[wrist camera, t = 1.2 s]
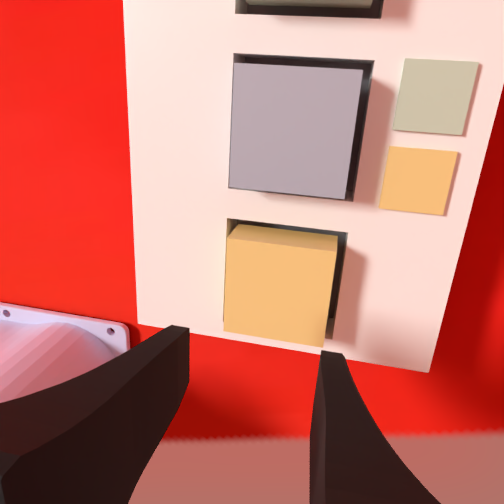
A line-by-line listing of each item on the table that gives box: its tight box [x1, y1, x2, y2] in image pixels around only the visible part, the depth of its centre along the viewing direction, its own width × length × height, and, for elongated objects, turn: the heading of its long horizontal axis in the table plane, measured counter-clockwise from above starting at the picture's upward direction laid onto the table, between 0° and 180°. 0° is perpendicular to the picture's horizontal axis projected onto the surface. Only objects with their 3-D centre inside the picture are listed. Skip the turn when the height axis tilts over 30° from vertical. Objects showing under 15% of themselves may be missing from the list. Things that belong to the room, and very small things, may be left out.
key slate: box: [229, 63, 363, 199], centre depth 16 cm, size 4×4×2 cm
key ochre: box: [223, 224, 338, 348], centre depth 18 cm, size 4×4×2 cm
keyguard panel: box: [123, 0, 504, 373], centre depth 18 cm, size 14×20×3 cm
